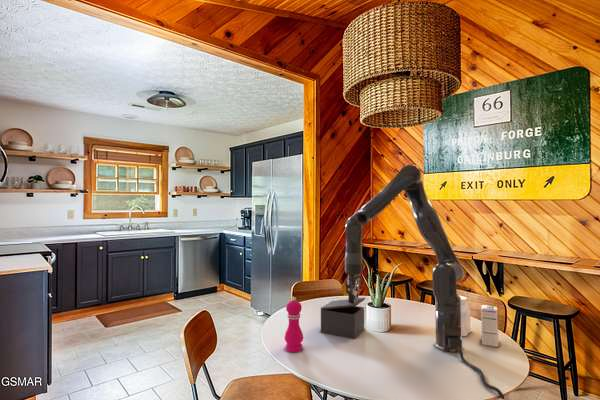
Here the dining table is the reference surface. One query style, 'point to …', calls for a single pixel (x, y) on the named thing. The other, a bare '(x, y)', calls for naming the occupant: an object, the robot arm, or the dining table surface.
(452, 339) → the robot arm
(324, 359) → the dining table surface
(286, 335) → the pepper mill
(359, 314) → the dark lidded box
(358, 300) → the lid
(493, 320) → the syrup box
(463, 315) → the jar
